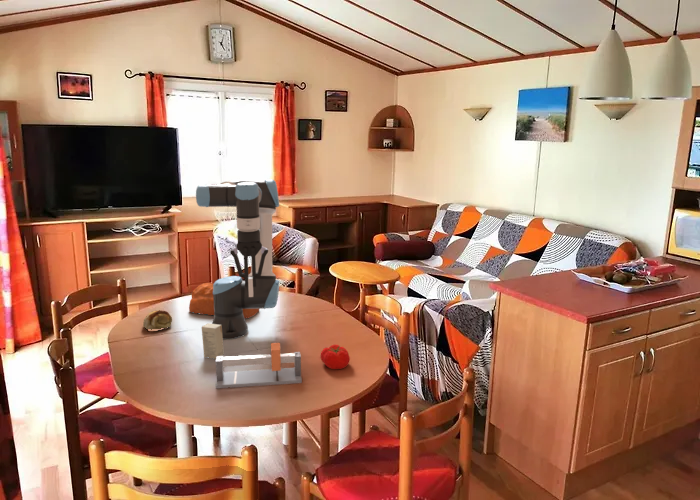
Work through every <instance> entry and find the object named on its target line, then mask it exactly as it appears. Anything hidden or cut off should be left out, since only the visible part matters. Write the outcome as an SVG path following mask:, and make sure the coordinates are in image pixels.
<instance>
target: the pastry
mask: <svg viewBox="0 0 700 500" xmlns="http://www.w3.org/2000/svg"><path fill="white" fill-rule="evenodd" d="M172 322H173V318H172V316H171V314H170V313H169V312H168V311H167V310H162V309H161V310H160V309H159V310H155V311H151V312H149V313H148V314H146V316H145V318H144V319H143V328H144V327H145V328H146V329H151V330H152V329H161V328H167V327H170V328H171V326H172ZM145 328H144V329H145ZM146 329H145V330H146Z"/></svg>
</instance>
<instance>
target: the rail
mask: <svg viewBox="0 0 700 500" xmlns="http://www.w3.org/2000/svg"><path fill="white" fill-rule="evenodd" d="M280 355H281V364H287V363H288V364H292V363H293V366H294V367H293V368H294V372H295V376H301V377H302V362H301V361H302V354H301V352H300V351H293V352H290V353H280ZM256 365H257V366H258V365H272V359H271V353H270V354H267V353H266V354H254V355H253V354H252V355H250V354H249V355H238V356H237V355H236V356H235V355H232V356H224V355H223V356H217V358H216V359H215V371H216V372H215V373H216V375H215V376H216V382H217V381H223V377H224V372H225V371H224V368H225V367H241V366H256Z"/></svg>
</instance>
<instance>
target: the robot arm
mask: <svg viewBox="0 0 700 500" xmlns="http://www.w3.org/2000/svg"><path fill="white" fill-rule="evenodd" d="M195 201H196V204H197V206H198V207H201V208H202V207H204V208H219V207H220V208H221V207H222V208H224V207H228V208H229V207H231V208H234V207H235V208H236V228H237V237H236V238H237V242H236V246H235V247H234V248H231V249H230V251H229V253H230V254H231V256H232V257H233V259H234V263H235V267H236V270H237V273H238V275H231V276H225V277H221V278H218V279H217V280H215V281H214V283H212V284H213V299H214V316H213V319H212V323H211V324H219V325H222V336H223V340H228V339H229V340H230V339H231V340H232V339H237V338H241V337H243V335H244V336H245V335H247V334H248V332H249V326H248V324H247V322H246V318H244V315H243V309H259V310H260V309H264V310H265V309H274V308H275V307H276V306H277V303H278V300H279V292H280V280H279V279H277V275H276V274H275V273H274V272H273V215H274V214H275V213H276V212H277V208H278V207H280V198H279V192H278V185H277V181H275V179H270V178H269V179H268V178H239V179H238V178H237V179H231V180H227V181H222V182H220V183H219V184H202V185H198V186H197V187H196V190H195ZM238 253H240V255H242V256H243V266H244V267H243V268H242V265H241V262H240V260H239V259H240V258H239V256H238ZM249 257H251V261H250V262H251V270H250V273H249ZM243 269H244V270H243ZM243 271H244V272H243ZM243 279H244V280H243Z"/></svg>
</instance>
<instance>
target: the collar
mask: <svg viewBox="0 0 700 500" xmlns="http://www.w3.org/2000/svg"><path fill="white" fill-rule="evenodd" d="M270 354H271V359H272V364H271V369H272V371H281V368H282V367H281V366H282V365H281V364H282V363H281V355H280V354H281V343H280V342H272V343H270Z"/></svg>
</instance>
